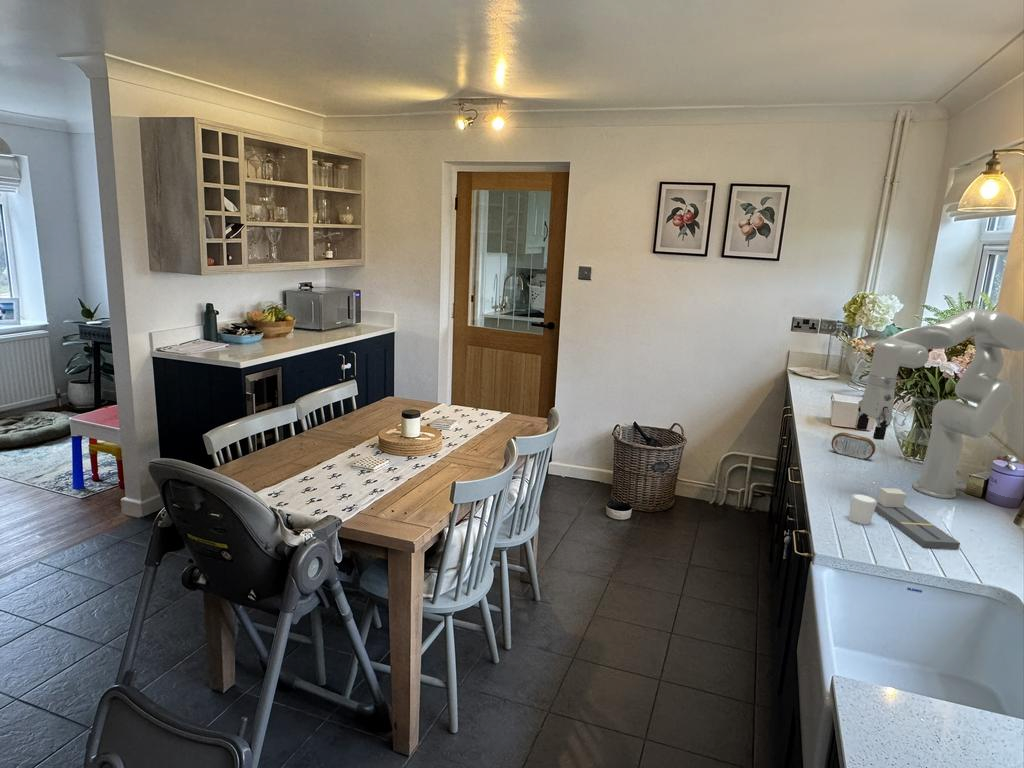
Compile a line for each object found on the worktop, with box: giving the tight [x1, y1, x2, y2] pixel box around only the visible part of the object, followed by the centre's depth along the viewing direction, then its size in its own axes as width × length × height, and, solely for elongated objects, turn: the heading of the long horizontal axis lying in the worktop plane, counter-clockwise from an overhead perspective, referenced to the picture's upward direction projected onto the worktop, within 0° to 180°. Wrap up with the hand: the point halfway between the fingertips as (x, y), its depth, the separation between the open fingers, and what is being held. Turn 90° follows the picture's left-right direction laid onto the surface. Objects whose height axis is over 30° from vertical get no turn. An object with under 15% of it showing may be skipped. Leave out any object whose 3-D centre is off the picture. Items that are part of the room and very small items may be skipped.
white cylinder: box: [848, 493, 877, 525], centre depth 199 cm, size 7×7×7 cm
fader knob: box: [876, 487, 907, 508], centre depth 208 cm, size 4×6×4 cm, turn 94°
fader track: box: [874, 498, 961, 550], centre depth 199 cm, size 28×10×2 cm, turn 4°
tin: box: [830, 432, 876, 461], centre depth 258 cm, size 15×3×8 cm, turn 58°
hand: (869, 434), depth 214 cm, fingers open, 9 cm apart
